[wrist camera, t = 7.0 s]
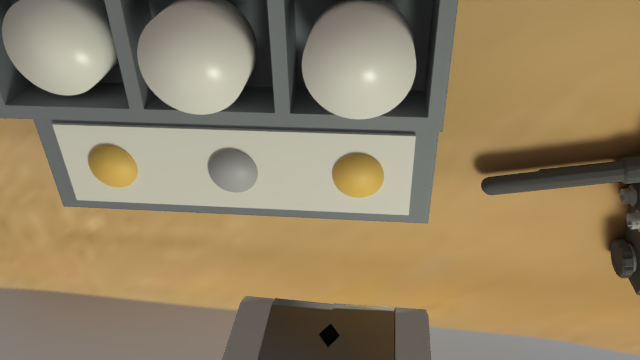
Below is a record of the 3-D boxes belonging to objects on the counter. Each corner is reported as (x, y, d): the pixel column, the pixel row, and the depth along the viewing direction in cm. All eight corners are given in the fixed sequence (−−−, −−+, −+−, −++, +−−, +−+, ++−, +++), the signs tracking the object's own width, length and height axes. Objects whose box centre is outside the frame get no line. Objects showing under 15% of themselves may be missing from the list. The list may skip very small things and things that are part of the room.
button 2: (417, -5, 19) (421, 11, 18) (409, 97, 22) (411, 121, 20) (306, -7, 20) (299, 10, 18) (309, 95, 22) (303, 117, 20)
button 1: (111, -17, 22) (88, -3, 20) (132, 77, 24) (113, 96, 22) (16, -18, 22) (-14, -4, 20) (45, 75, 24) (21, 94, 23)
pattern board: (455, -100, 22) (474, -78, 17) (424, 189, 29) (431, 257, 25) (7, -97, 23) (-84, -76, 19) (89, 175, 31) (38, 236, 27)
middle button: (252, -7, 20) (240, 9, 18) (261, 93, 22) (251, 116, 21) (147, -8, 20) (126, 8, 19) (166, 91, 23) (148, 113, 21)
